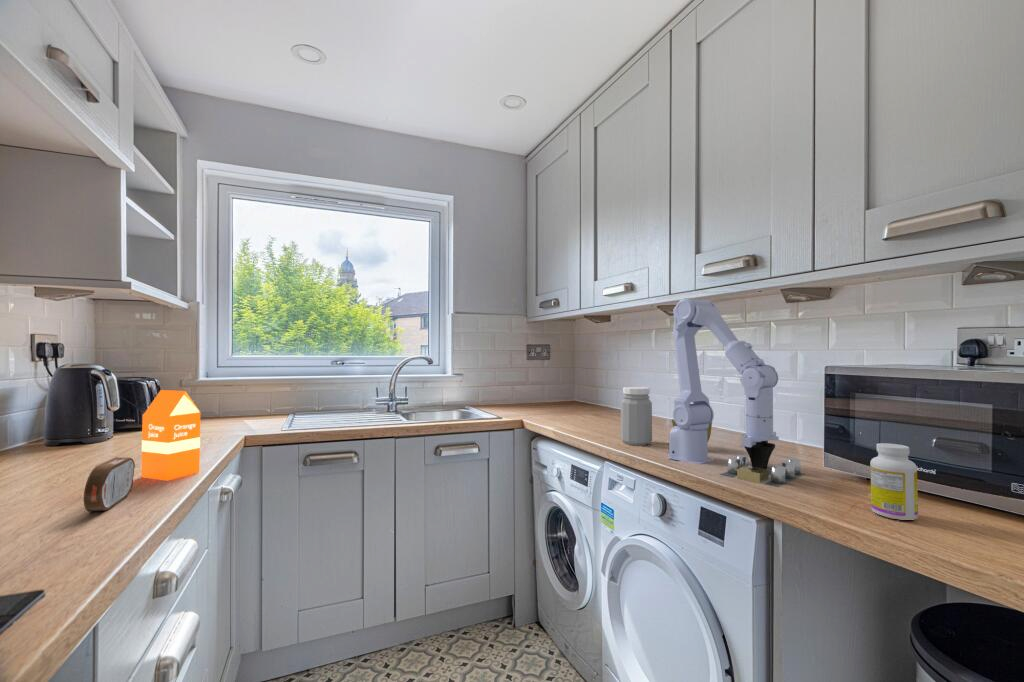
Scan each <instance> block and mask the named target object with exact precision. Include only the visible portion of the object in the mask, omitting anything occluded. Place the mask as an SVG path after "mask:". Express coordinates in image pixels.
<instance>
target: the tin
mask: <svg viewBox="0 0 1024 682" xmlns="http://www.w3.org/2000/svg"><path fill="white" fill-rule="evenodd" d="M135 466H136V464H135V460H134V459H133V458H131V457H118V456H115V457H113V458H110V459H108V460H107V461H103V462H102V463H100V464H97V465H96V466H95V467H93V469H92V470H91V472H89V475H88V478H87V479H86V483H85V486H84V491H83V506H84V509H85V511H87V512H89V513H92V512H102V511H103V512H104V511H108V510H110V509H111V508H113V507H115V506H116V505H117V504H118V503H120V502H121V501H123V500H124V499H126V498H127V497H128V496H129V494H130V493H131V490H132V488H133V485H134V476H135V475H134V474H135V468H136V467H135Z"/></svg>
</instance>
